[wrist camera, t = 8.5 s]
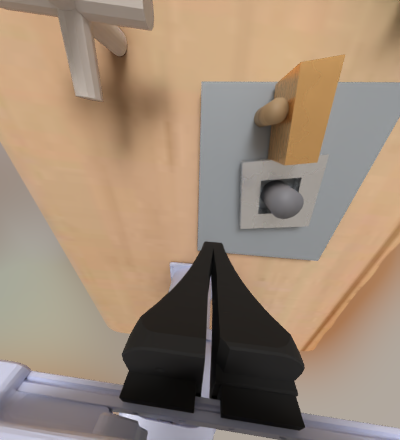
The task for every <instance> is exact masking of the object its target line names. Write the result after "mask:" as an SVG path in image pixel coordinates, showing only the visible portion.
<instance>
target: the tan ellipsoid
mask: <svg viewBox="0 0 400 440" xmlns="http://www.w3.org/2000/svg"><path fill="white" fill-rule="evenodd" d="M288 112H289V104H288V101H287V100H286V99H285V98H282V97H278V98H275V99H274V100H272V101H271V102H269V103H268V104H266V105H264V106H263V107H261V108H260V109H258V110H257V112H256V113H255V116H254V122H255V124H256V125H257V126H258V127H264V126H269V125H274V124H278V123H280V122H282V121H283V120H284V119H285V118H286V116H287V114H288Z"/></svg>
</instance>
